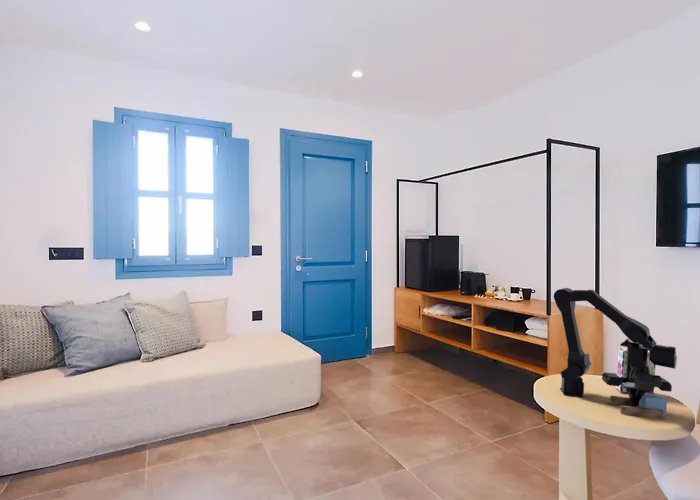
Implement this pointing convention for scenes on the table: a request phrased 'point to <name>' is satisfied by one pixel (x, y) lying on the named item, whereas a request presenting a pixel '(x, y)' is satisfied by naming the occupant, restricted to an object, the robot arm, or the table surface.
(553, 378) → the table surface
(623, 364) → the candy bar box
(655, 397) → the block
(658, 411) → the brown rails
